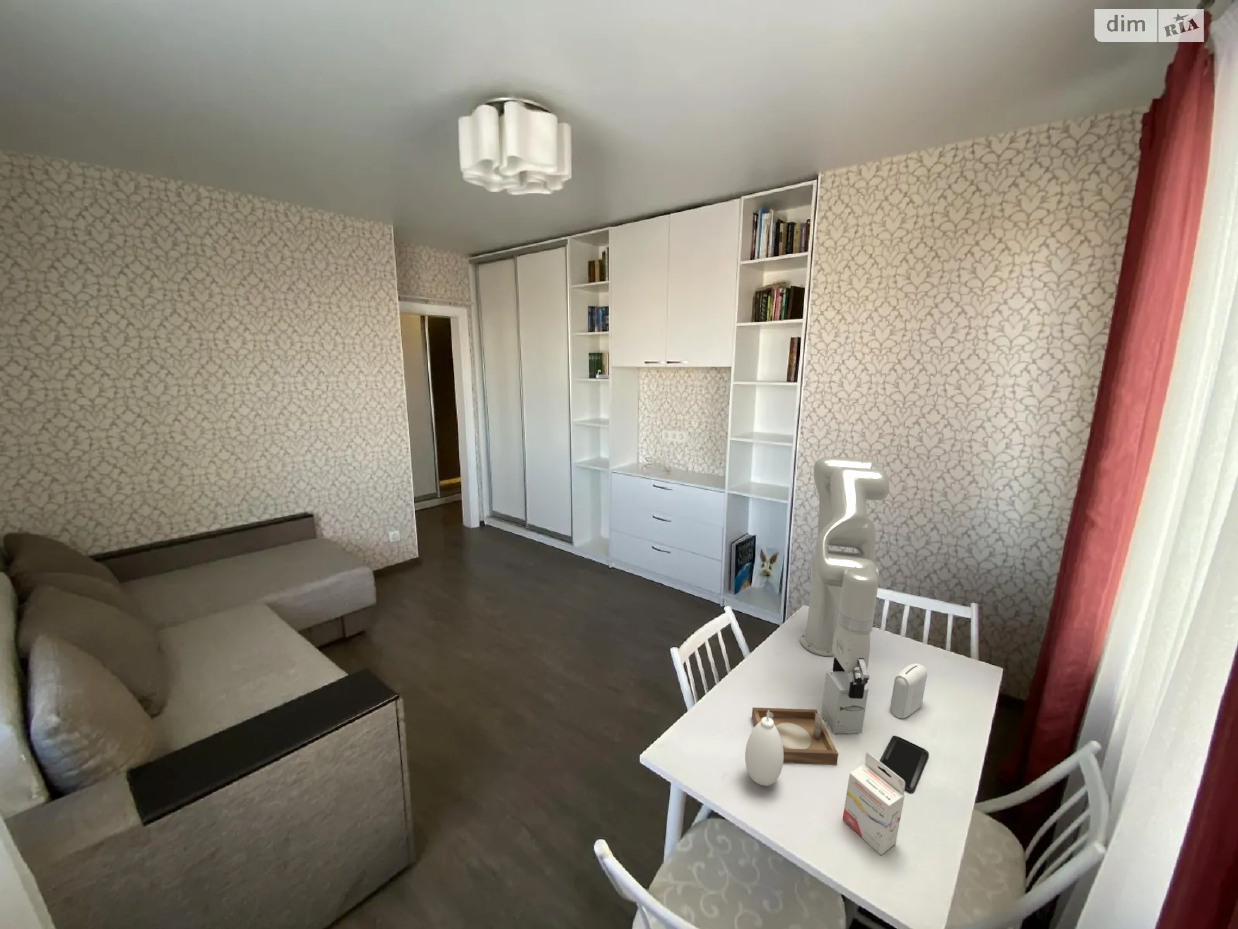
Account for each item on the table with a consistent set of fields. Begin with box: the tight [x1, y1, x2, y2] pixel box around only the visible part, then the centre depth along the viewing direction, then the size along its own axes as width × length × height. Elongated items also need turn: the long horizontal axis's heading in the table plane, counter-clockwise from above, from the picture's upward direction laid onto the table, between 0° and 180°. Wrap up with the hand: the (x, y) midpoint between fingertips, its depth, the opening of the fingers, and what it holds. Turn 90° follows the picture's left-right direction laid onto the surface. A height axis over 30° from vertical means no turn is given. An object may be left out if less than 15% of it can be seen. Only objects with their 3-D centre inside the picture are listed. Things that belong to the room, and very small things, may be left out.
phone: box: [878, 735, 930, 794], centre depth 114 cm, size 8×1×15 cm
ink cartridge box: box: [842, 751, 905, 856], centre depth 97 cm, size 9×5×15 cm, turn 30°
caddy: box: [751, 706, 839, 766], centre depth 120 cm, size 14×16×7 cm
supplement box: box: [820, 671, 869, 735], centre depth 125 cm, size 7×7×13 cm
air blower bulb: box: [744, 710, 784, 787], centre depth 107 cm, size 8×8×18 cm
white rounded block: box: [889, 663, 928, 719], centre depth 130 cm, size 10×4×12 cm, turn 123°
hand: (847, 684), depth 123 cm, fingers open, 9 cm apart
